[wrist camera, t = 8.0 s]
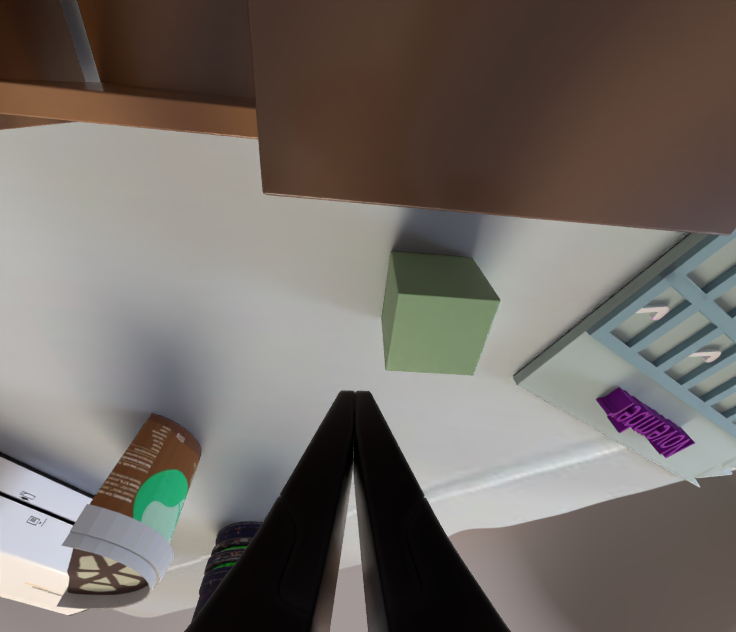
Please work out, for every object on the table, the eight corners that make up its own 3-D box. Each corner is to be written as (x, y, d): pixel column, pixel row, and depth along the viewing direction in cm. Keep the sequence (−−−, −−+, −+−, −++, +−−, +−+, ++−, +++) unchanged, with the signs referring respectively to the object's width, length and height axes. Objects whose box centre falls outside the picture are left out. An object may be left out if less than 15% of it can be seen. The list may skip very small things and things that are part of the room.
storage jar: (287, 562, 44) (258, 745, 32) (211, 552, 42) (148, 743, 30) (308, 529, 39) (282, 732, 27) (222, 515, 37) (151, 728, 25)
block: (472, 257, 20) (501, 300, 16) (453, 324, 23) (473, 376, 19) (390, 250, 20) (398, 292, 16) (381, 319, 23) (385, 370, 18)
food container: (197, 493, 34) (145, 620, 26) (133, 478, 33) (55, 608, 24) (230, 425, 28) (176, 562, 20) (154, 402, 27) (61, 541, 18)
